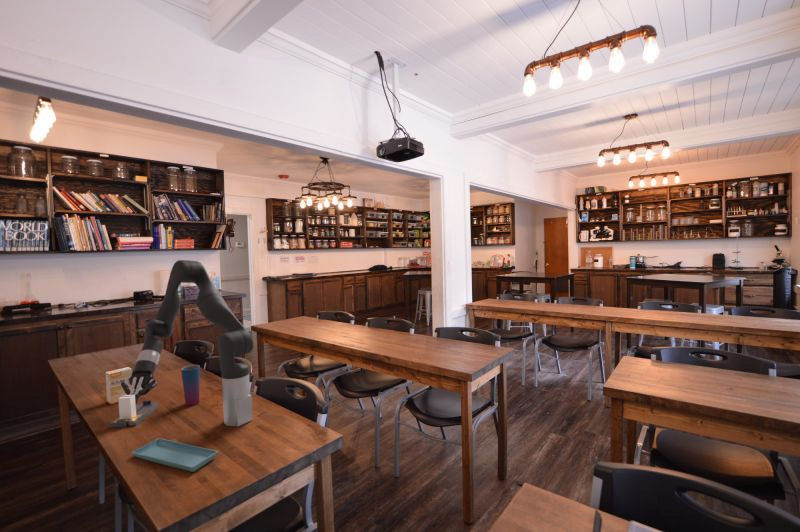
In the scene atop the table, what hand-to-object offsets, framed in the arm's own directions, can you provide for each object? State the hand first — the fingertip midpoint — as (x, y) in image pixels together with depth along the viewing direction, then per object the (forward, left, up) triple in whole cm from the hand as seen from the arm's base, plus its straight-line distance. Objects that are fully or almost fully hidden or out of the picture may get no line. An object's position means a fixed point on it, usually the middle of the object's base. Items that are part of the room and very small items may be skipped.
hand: (131, 405), depth 142 cm
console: (+2, -2, -5) cm, 6 cm away
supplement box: (+26, -6, -6) cm, 27 cm away
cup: (-5, -20, -6) cm, 21 cm away
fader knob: (-1, +2, -4) cm, 4 cm away
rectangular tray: (-41, +5, -6) cm, 42 cm away
